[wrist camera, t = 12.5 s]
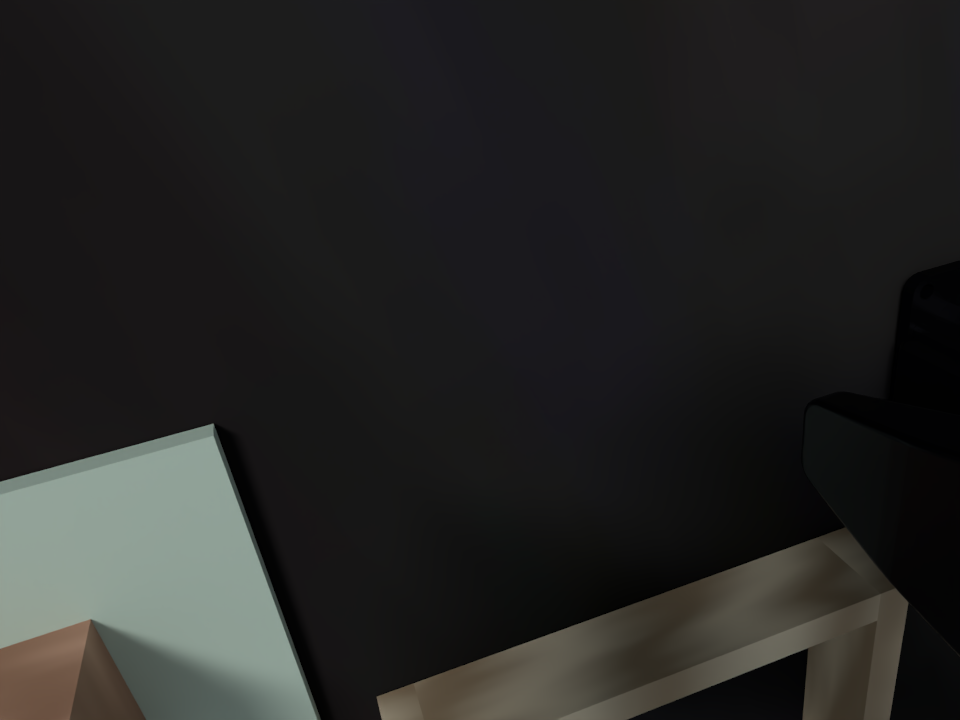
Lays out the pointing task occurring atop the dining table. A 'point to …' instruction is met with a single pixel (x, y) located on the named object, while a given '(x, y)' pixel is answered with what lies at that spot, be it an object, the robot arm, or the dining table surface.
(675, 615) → the pine frame
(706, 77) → the dining table surface
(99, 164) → the dining table surface
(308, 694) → the sage board
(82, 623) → the terracotta block
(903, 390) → the robot arm
